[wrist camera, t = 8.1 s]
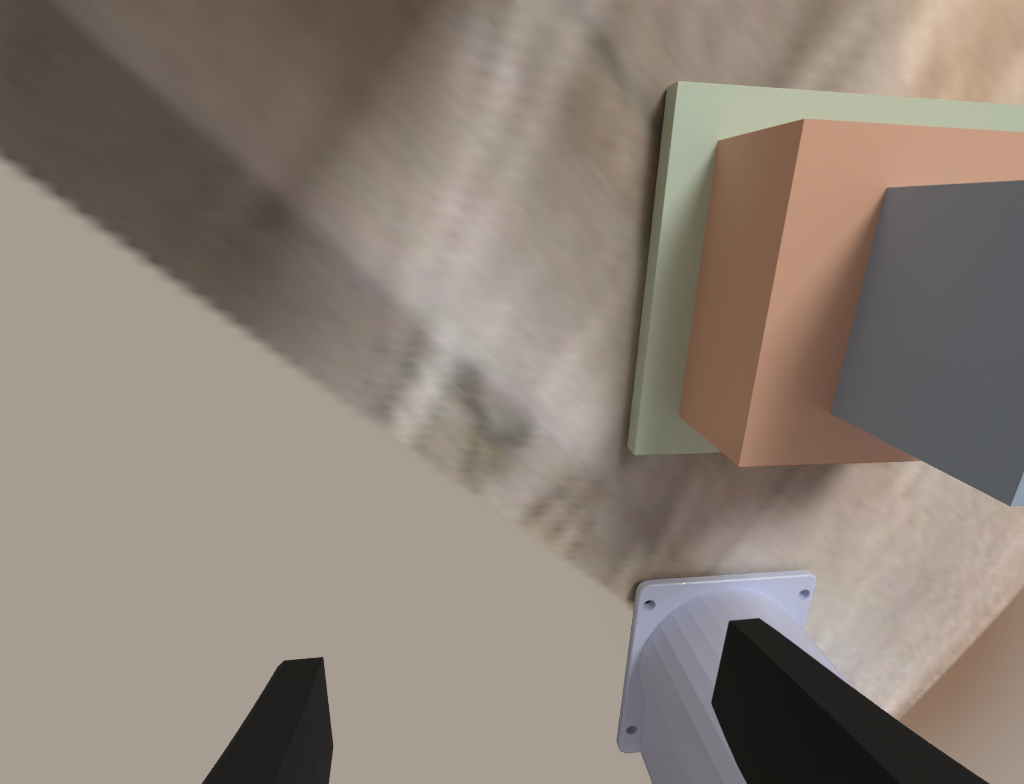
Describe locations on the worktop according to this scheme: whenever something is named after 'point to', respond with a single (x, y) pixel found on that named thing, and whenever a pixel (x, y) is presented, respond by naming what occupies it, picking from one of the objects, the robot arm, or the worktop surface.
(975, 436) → the blue brick
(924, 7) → the worktop surface
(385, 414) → the worktop surface
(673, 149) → the tower base
